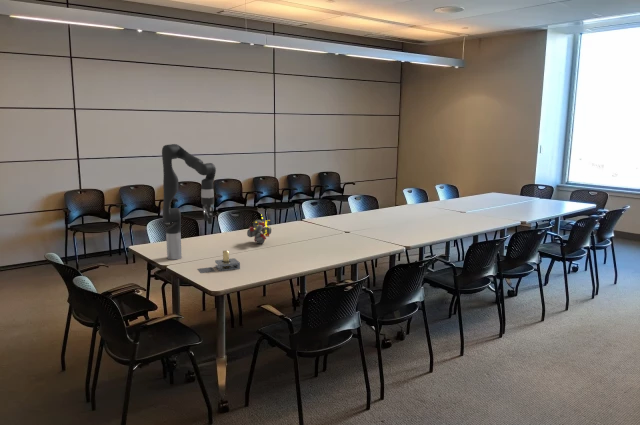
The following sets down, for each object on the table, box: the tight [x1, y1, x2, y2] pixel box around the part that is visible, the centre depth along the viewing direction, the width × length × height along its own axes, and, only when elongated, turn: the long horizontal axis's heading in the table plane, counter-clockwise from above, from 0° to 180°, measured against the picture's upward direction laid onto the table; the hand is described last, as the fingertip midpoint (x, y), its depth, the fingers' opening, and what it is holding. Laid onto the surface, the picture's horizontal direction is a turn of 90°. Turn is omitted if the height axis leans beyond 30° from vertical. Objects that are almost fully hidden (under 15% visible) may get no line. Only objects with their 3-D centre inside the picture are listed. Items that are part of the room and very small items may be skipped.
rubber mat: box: [196, 267, 216, 274], centre depth 305 cm, size 10×9×1 cm
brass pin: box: [222, 249, 230, 268], centre depth 309 cm, size 4×4×11 cm
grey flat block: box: [214, 258, 241, 272], centre depth 310 cm, size 11×12×4 cm
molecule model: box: [246, 214, 274, 245], centre depth 373 cm, size 25×21×23 cm
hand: (207, 222), depth 308 cm, fingers open, 8 cm apart
